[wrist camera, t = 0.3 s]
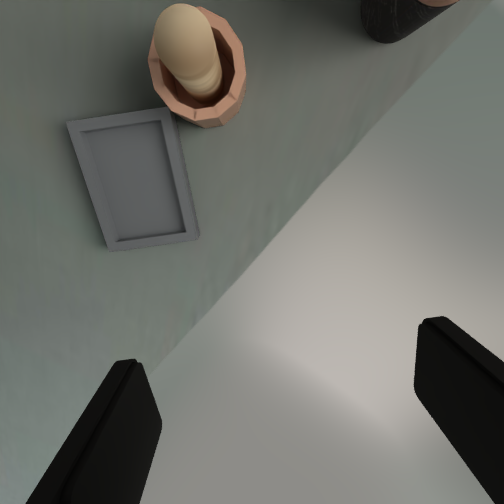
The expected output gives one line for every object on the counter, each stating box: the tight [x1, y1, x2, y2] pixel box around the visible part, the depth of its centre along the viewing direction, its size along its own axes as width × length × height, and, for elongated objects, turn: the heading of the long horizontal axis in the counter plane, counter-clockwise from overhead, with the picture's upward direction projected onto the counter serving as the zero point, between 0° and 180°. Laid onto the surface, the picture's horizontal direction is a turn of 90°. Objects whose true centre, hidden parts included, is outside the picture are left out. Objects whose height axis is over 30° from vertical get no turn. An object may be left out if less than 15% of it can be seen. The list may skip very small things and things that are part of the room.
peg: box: [154, 4, 225, 105], centre depth 25 cm, size 4×4×12 cm
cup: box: [148, 7, 246, 128], centre depth 29 cm, size 9×9×7 cm
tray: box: [66, 106, 200, 252], centre depth 34 cm, size 16×12×2 cm
